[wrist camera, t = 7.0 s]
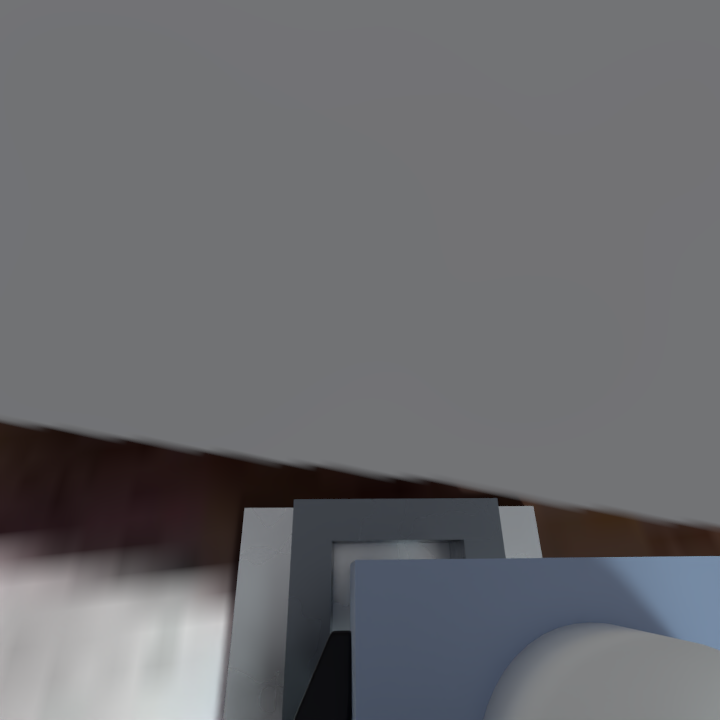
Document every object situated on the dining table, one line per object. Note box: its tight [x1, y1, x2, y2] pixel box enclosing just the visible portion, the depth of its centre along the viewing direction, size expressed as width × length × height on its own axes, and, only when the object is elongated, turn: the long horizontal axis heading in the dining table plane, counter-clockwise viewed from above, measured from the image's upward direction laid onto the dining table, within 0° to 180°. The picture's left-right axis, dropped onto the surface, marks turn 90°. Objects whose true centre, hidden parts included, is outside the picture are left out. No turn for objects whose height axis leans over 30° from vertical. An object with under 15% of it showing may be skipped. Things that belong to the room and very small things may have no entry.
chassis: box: [223, 498, 542, 720], centre depth 16 cm, size 10×13×4 cm
